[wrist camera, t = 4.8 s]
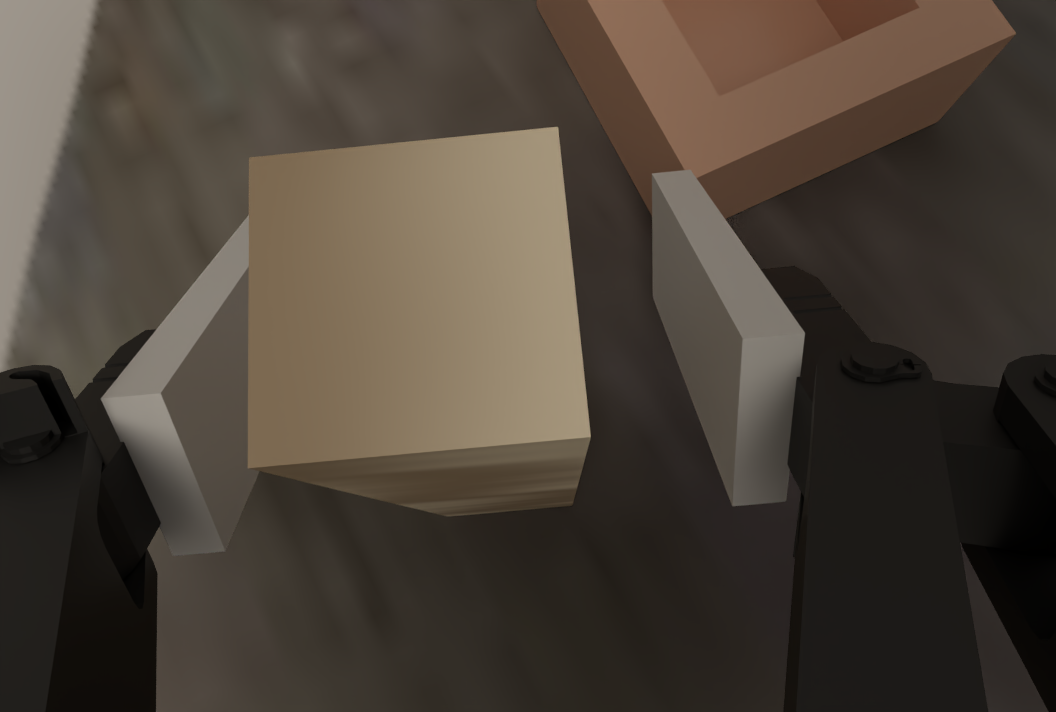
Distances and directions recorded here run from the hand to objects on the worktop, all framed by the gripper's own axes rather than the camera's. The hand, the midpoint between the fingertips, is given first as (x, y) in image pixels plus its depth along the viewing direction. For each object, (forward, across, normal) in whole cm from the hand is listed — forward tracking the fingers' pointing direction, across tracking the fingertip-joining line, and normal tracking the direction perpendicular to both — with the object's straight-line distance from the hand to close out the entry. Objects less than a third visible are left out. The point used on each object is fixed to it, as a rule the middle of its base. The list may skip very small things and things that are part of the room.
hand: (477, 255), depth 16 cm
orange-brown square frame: (+7, +7, +2) cm, 10 cm away
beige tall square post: (0, 0, -5) cm, 5 cm away
